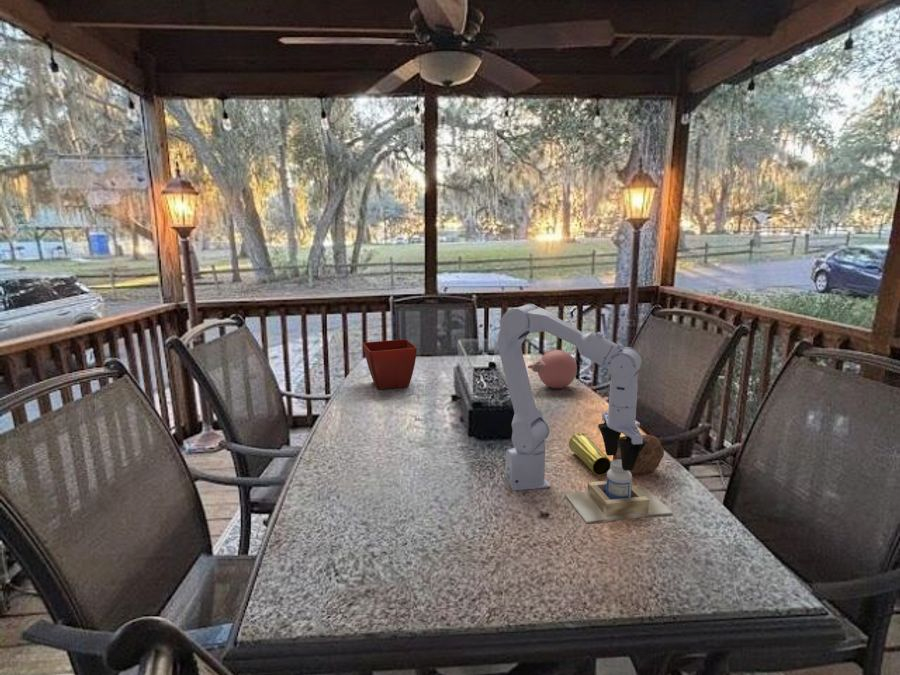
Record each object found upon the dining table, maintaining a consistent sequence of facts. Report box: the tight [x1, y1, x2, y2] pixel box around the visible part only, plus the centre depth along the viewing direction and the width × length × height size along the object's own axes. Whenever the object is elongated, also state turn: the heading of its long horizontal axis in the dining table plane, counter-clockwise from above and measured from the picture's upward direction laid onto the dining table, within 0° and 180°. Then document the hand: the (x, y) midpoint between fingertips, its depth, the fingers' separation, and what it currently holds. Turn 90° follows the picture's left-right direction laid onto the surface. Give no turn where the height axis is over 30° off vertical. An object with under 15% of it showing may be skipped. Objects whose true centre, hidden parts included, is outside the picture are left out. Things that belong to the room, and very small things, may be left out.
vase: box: [568, 432, 612, 477], centre depth 136 cm, size 6×6×14 cm
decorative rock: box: [612, 434, 665, 476], centre depth 131 cm, size 13×11×10 cm
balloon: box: [527, 349, 578, 390], centre depth 202 cm, size 15×20×15 cm
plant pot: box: [362, 338, 418, 390], centre depth 209 cm, size 19×19×17 cm
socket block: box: [564, 480, 673, 524], centre depth 115 cm, size 20×12×3 cm, turn 99°
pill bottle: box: [606, 459, 633, 500], centre depth 115 cm, size 6×5×10 cm
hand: (619, 461), depth 114 cm, fingers open, 7 cm apart
